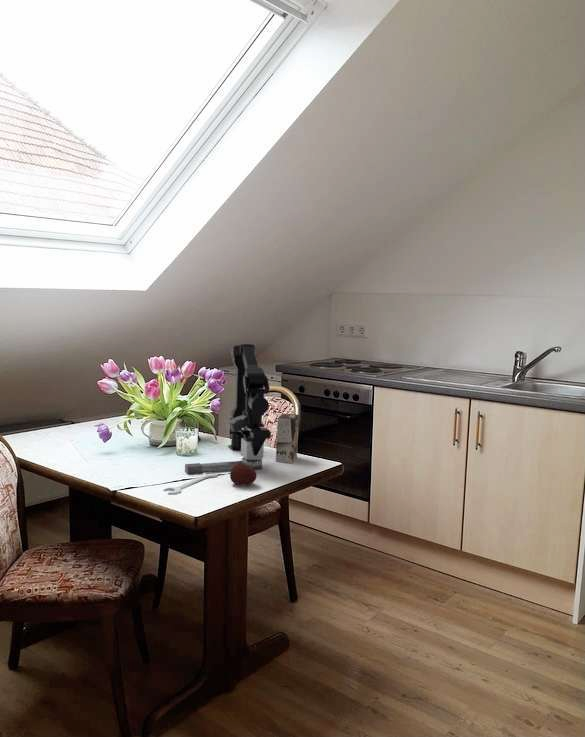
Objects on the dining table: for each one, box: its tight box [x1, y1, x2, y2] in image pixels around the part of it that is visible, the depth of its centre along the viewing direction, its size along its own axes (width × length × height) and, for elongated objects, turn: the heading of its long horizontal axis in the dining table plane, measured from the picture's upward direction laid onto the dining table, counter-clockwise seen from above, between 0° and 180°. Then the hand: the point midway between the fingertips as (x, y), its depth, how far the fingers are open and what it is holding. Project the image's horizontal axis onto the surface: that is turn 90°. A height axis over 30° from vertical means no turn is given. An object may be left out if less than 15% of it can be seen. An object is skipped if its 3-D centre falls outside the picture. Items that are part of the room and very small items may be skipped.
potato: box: [229, 463, 257, 486], centre depth 206 cm, size 7×8×7 cm
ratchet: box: [184, 457, 263, 475], centre depth 221 cm, size 7×26×7 cm, turn 113°
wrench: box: [163, 472, 218, 495], centre depth 205 cm, size 25×2×5 cm
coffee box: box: [275, 413, 300, 464], centre depth 237 cm, size 9×6×16 cm
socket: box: [240, 438, 265, 459], centre depth 224 cm, size 6×6×6 cm
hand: (252, 453), depth 225 cm, fingers closed on socket, 6 cm apart
